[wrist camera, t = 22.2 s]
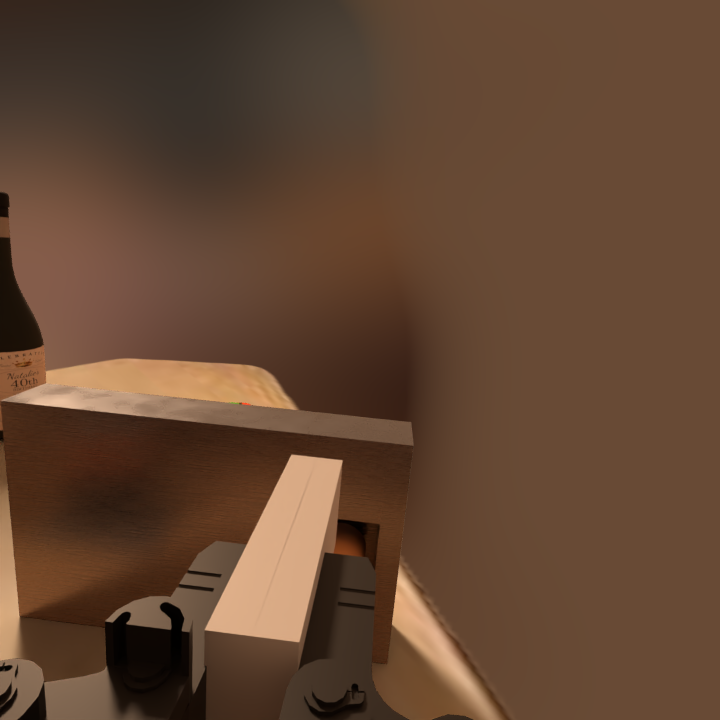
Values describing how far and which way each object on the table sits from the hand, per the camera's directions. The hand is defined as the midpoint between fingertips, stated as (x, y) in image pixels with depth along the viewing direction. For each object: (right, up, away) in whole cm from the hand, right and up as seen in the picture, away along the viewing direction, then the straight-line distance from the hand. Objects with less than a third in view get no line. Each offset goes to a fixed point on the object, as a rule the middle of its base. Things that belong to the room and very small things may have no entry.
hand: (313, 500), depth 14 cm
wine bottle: (-45, -5, +49) cm, 66 cm away
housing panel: (-10, -15, +21) cm, 27 cm away
